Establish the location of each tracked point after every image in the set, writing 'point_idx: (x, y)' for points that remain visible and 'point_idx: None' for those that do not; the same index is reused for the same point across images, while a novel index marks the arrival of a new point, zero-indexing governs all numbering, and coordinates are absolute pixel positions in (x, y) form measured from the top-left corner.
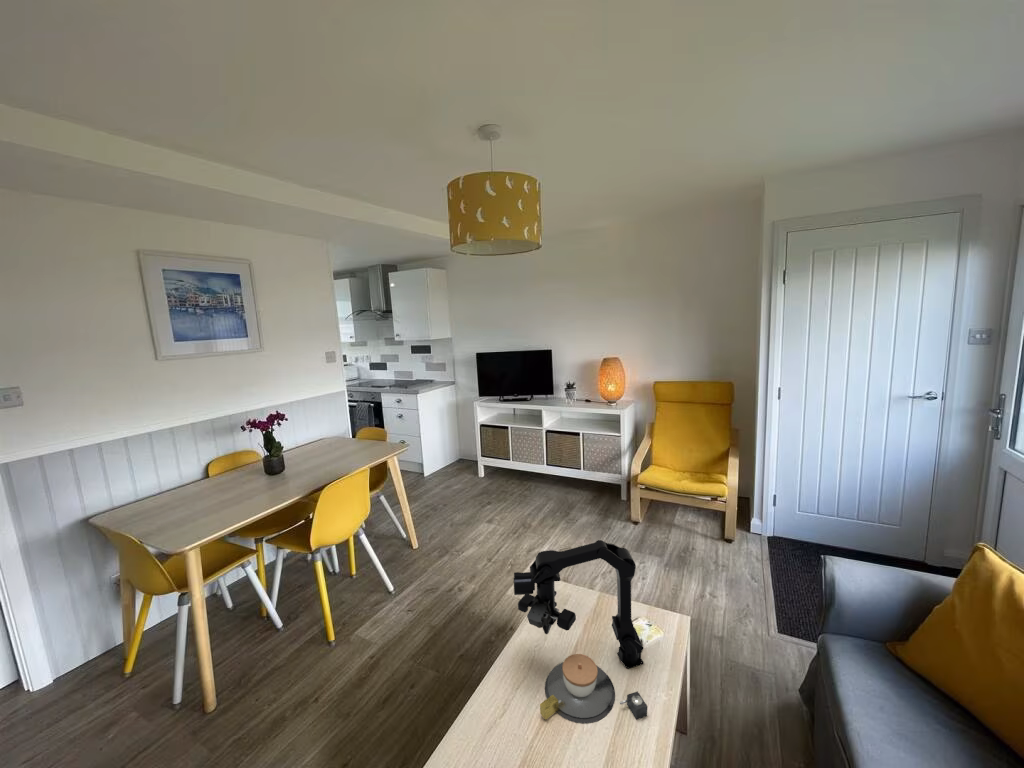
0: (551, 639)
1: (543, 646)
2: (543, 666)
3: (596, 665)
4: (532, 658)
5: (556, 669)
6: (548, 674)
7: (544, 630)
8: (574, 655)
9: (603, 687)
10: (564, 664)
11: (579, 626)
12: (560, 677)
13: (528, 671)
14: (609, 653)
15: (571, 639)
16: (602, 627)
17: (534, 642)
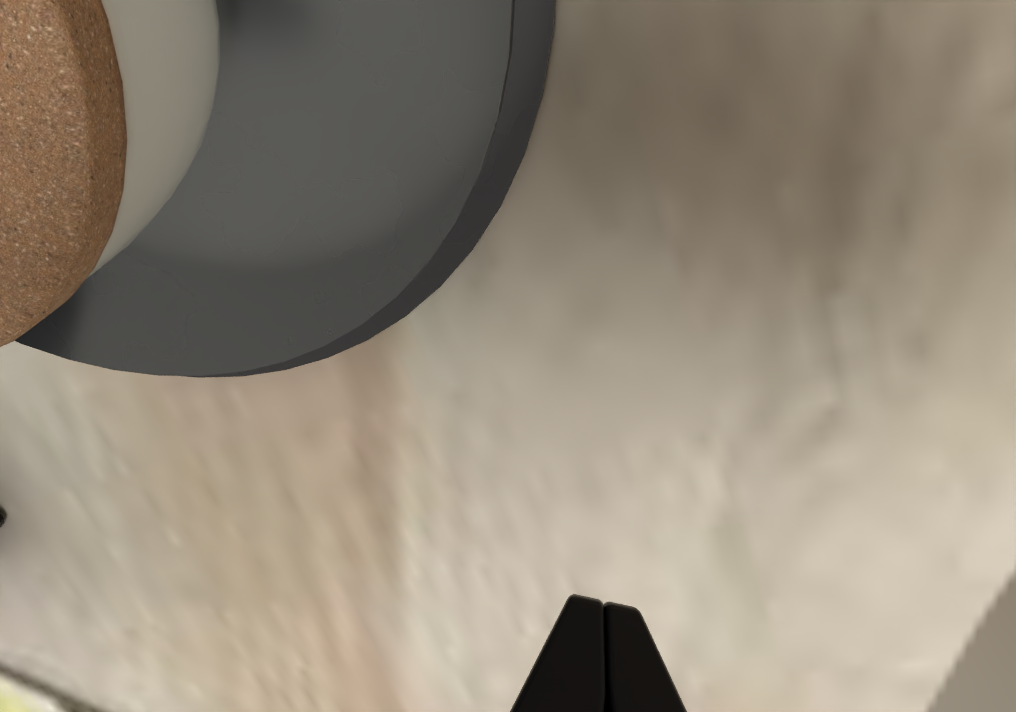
0: (658, 536)
1: (729, 441)
2: (659, 173)
3: (42, 349)
4: (843, 248)
5: (444, 147)
6: (548, 55)
7: (646, 707)
8: None
9: None
10: (10, 5)
11: (435, 692)
12: (338, 29)
13: (871, 10)
14: (70, 510)
15: (454, 572)
16: (252, 708)
17: (855, 466)
